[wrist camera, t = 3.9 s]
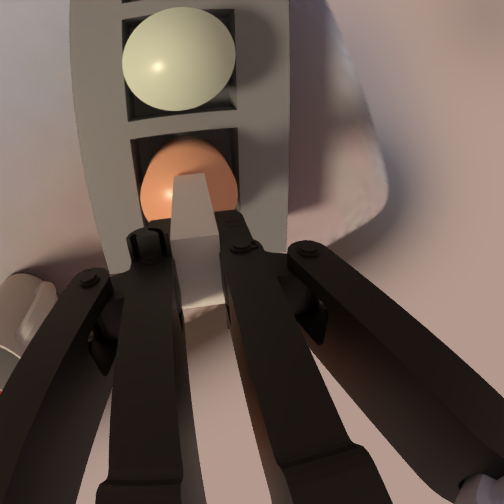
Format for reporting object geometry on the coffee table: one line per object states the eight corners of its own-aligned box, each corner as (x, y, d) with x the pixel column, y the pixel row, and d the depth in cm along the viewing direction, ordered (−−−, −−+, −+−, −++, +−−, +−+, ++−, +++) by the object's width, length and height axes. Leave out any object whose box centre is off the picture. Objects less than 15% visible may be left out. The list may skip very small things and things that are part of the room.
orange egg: (153, 215, 20) (148, 246, 16) (142, 141, 17) (133, 156, 14) (228, 206, 21) (239, 234, 17) (225, 131, 18) (236, 144, 15)
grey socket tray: (120, 238, 24) (110, 274, 19) (97, -64, 10) (80, -91, 6) (267, 220, 26) (286, 251, 21) (263, -77, 12) (283, -106, 8)
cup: (-7, 297, 23) (-40, 362, 16) (33, 237, 22) (-10, 305, 14) (44, 338, 27) (24, 406, 20) (93, 289, 25) (73, 366, 18)
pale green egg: (138, 110, 16) (126, 118, 12) (133, 28, 13) (120, 15, 10) (225, 100, 16) (236, 105, 13) (223, 20, 14) (234, 4, 10)
